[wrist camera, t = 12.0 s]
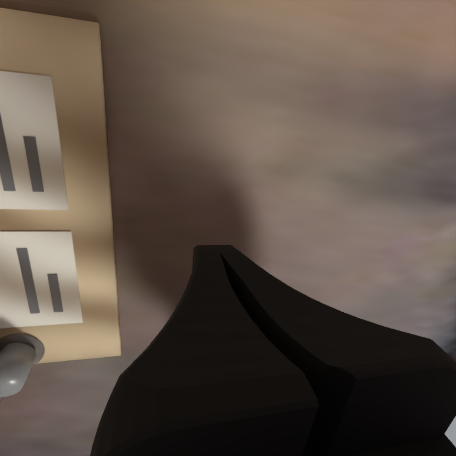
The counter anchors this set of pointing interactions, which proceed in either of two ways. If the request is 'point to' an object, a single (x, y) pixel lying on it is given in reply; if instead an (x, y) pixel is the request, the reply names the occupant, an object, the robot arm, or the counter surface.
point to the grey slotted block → (15, 367)
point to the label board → (55, 191)
